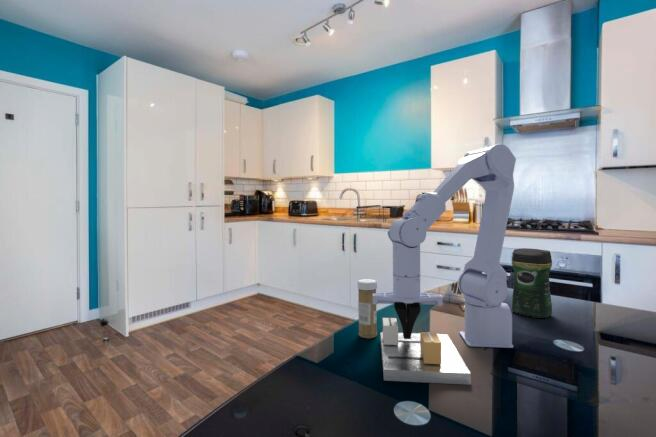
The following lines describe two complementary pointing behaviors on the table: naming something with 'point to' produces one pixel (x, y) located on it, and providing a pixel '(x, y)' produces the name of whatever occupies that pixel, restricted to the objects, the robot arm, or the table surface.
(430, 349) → the fader knob orange
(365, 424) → the table surface
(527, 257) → the coffee jar
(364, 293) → the sprinkles bottle
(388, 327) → the fader knob white
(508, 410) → the table surface
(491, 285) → the robot arm
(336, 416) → the table surface
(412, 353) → the fader panel
